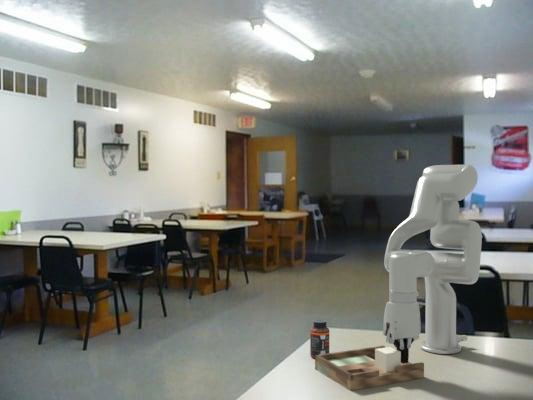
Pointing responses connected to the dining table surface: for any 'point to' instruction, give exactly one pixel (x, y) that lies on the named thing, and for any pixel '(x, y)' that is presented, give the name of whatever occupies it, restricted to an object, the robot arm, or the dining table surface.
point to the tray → (363, 369)
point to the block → (387, 358)
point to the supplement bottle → (319, 338)
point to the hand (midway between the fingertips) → (402, 361)
